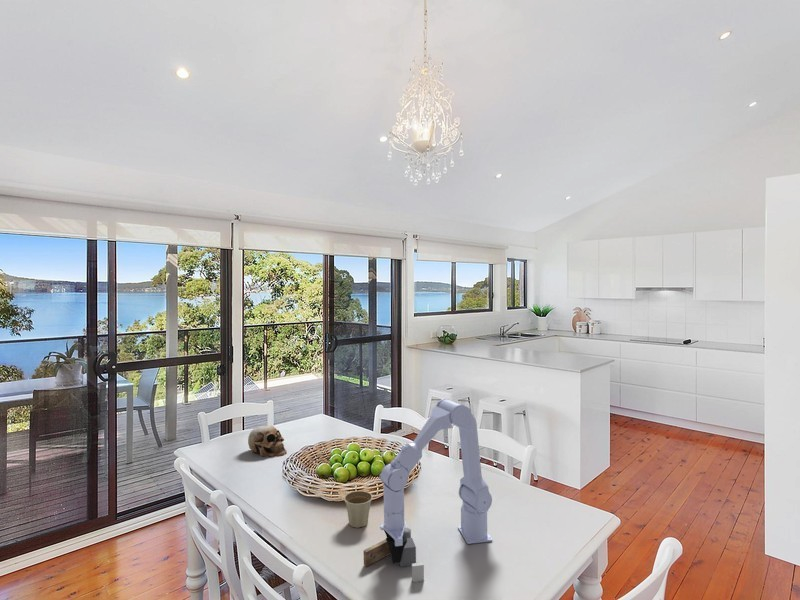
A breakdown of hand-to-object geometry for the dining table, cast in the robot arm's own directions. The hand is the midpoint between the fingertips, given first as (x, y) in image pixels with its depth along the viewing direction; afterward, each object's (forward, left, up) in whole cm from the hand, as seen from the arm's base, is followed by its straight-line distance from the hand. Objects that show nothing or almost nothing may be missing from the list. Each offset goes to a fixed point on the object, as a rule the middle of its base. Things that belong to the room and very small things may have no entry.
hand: (395, 556), depth 121 cm
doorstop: (0, +3, -2) cm, 4 cm away
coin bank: (-96, -46, -2) cm, 107 cm away
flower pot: (-23, -8, -2) cm, 25 cm away
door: (-3, -2, -1) cm, 4 cm away
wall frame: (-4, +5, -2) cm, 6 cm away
